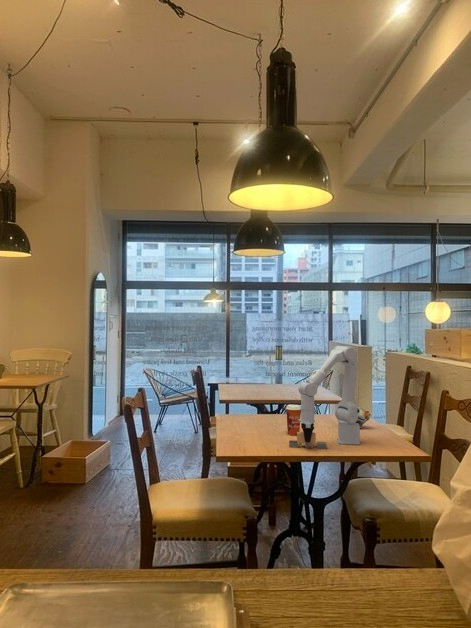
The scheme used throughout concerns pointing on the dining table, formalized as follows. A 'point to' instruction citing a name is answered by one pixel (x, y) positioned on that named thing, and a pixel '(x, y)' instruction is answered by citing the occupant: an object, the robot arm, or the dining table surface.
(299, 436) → the tan rectangular block
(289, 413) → the paper cup
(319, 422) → the dining table surface
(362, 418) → the lucky cat figurine
